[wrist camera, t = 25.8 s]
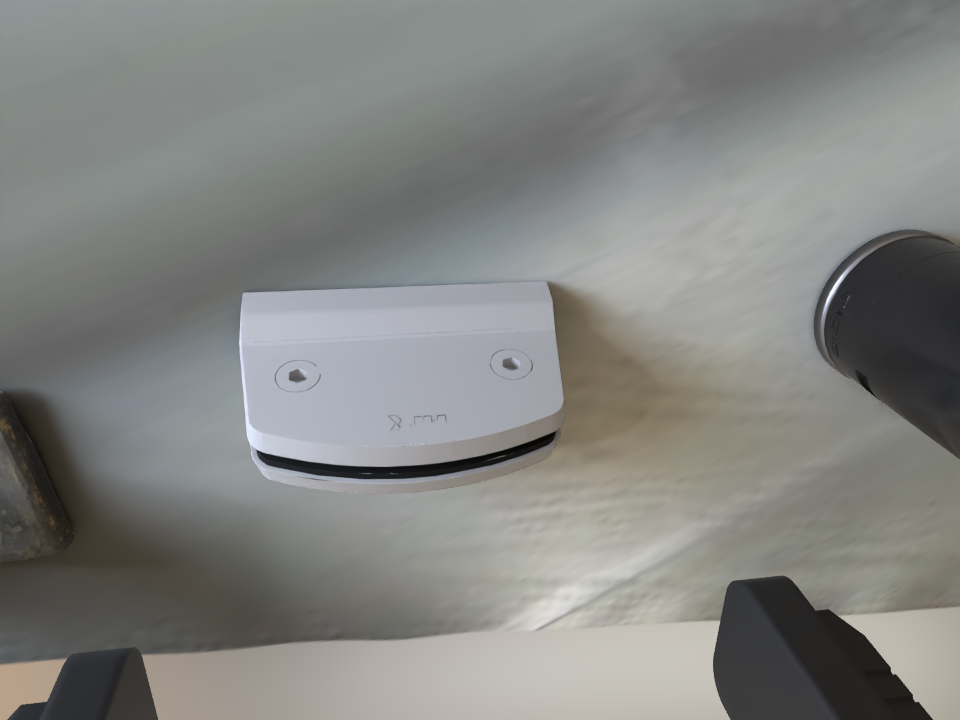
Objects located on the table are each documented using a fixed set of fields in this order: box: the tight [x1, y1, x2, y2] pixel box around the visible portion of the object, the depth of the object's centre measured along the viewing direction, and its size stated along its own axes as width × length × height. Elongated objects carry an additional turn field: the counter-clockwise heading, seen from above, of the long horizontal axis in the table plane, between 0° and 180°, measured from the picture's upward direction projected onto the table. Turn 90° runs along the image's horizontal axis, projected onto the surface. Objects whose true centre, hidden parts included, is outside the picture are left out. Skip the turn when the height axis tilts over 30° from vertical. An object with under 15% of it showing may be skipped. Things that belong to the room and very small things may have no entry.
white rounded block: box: [239, 281, 565, 494], centre depth 37 cm, size 17×5×10 cm, turn 89°
